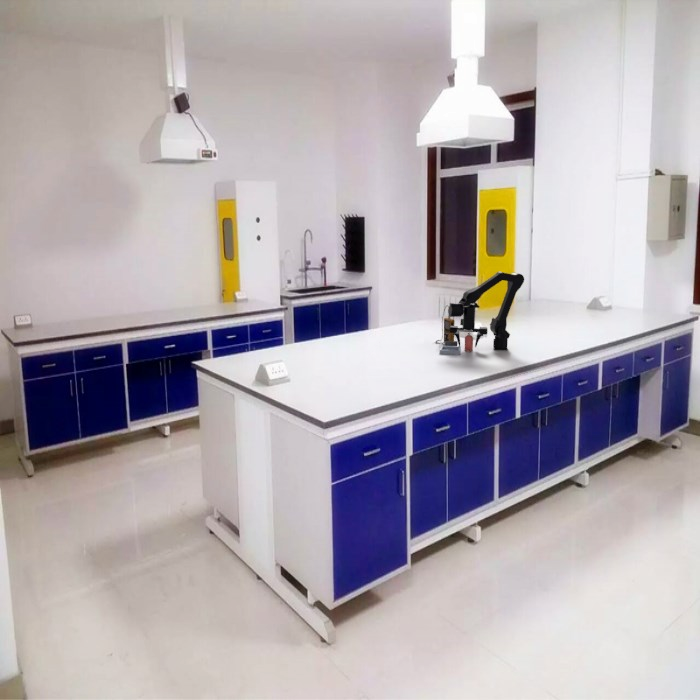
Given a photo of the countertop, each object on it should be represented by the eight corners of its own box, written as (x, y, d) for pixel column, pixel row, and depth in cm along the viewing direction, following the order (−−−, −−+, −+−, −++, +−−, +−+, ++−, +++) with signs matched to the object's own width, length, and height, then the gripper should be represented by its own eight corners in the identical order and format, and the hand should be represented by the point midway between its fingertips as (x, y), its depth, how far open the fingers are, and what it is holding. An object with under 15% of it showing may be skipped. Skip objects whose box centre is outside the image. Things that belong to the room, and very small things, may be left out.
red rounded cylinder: (472, 349, 322) (473, 332, 320) (472, 351, 318) (473, 333, 316) (464, 349, 323) (465, 332, 321) (464, 351, 319) (464, 333, 317)
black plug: (457, 349, 327) (457, 344, 329) (457, 345, 324) (457, 339, 326) (442, 348, 328) (443, 343, 330) (442, 344, 325) (442, 339, 328)
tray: (460, 350, 321) (460, 346, 321) (459, 354, 312) (460, 350, 311) (440, 349, 323) (440, 345, 323) (439, 354, 314) (439, 350, 313)
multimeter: (428, 341, 343) (428, 305, 338) (445, 340, 346) (445, 303, 341) (440, 347, 329) (440, 309, 325) (457, 345, 332) (458, 307, 328)
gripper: (488, 314, 322) (486, 344, 326) (451, 312, 326) (449, 342, 330) (488, 318, 312) (486, 349, 315) (450, 316, 315) (448, 347, 319)
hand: (467, 346), depth 320 cm, fingers open, 7 cm apart
